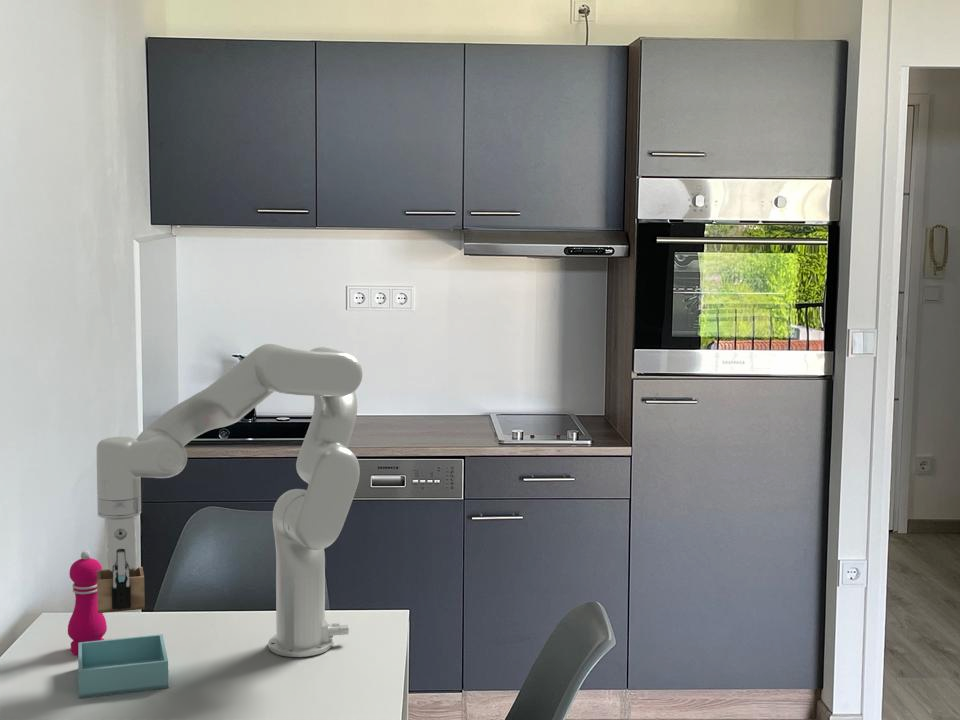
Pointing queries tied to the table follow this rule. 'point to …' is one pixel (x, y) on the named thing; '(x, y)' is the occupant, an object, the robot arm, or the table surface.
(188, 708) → the table surface
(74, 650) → the pepper mill
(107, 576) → the small crate
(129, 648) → the big crate
